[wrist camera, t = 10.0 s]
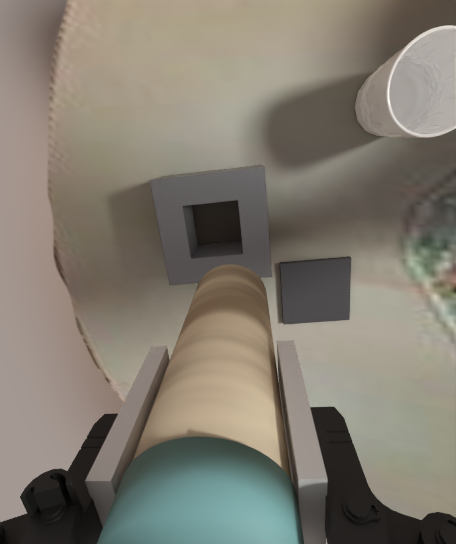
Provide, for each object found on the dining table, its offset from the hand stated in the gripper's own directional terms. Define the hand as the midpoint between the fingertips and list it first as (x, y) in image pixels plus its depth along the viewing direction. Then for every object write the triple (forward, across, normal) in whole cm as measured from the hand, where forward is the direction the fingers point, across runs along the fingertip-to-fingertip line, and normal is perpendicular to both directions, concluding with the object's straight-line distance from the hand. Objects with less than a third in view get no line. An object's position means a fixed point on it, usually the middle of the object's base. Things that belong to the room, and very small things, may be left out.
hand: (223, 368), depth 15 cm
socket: (+27, -2, +2) cm, 28 cm away
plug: (+8, 0, 0) cm, 8 cm away
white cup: (+28, +17, +13) cm, 35 cm away
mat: (+28, +10, -9) cm, 31 cm away
